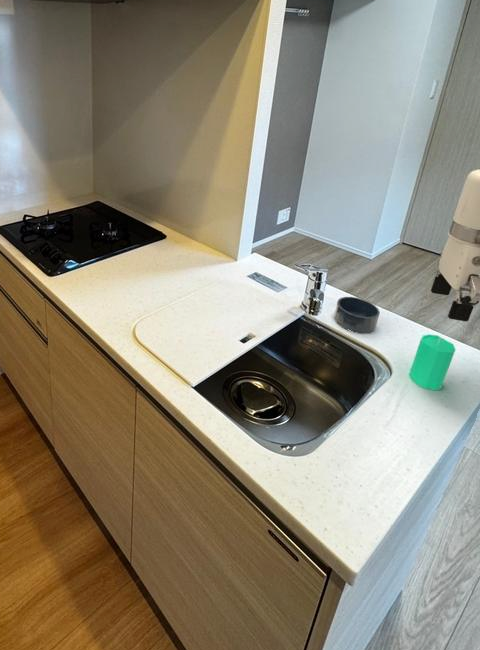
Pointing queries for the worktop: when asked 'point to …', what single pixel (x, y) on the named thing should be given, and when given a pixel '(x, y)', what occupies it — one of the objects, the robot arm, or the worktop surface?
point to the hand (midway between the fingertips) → (448, 305)
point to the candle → (431, 362)
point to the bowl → (356, 314)
